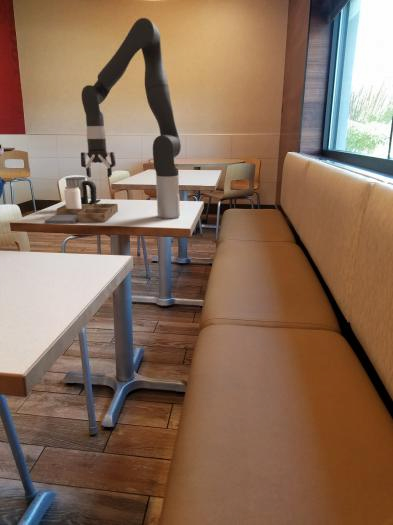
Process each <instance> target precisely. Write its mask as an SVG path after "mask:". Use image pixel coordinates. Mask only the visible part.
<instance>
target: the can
mask: <svg viewBox="0 0 393 525" xmlns="http://www.w3.org/2000/svg"><path fill="white" fill-rule="evenodd" d="M64 188H65V189H64V200H65V204H66V209H82V207H81V196H80V190H79V188H78V186H69V187H67V186H65V187H64Z"/></svg>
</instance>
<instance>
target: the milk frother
mask: <svg viewBox="0 0 393 525" xmlns="http://www.w3.org/2000/svg"><path fill="white" fill-rule="evenodd" d="M64 179H65V184H66V186H65V187H69V186H78V188H79V190H80V196H81V204H90V205H92V204H99V203H100V202H101V199H97V186H96V183H94V182H93V181H91V180H86V176H70V177H66V178H64ZM87 186H88V187H89V189H90V190H89V192H90V200H89V198H88V189H87V188H88V187H87Z"/></svg>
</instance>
